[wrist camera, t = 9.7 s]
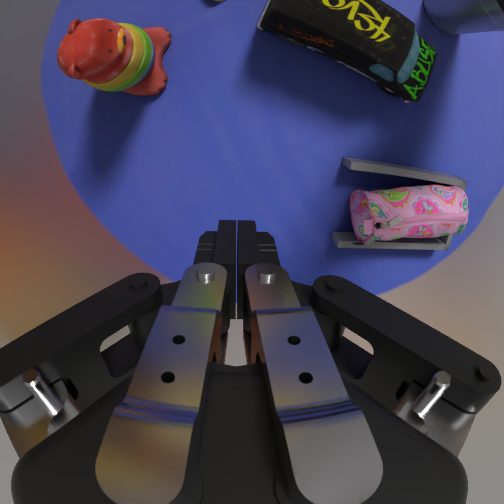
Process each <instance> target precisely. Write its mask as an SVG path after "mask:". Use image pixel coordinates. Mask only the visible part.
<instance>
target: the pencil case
mask: <svg viewBox="0 0 504 504" xmlns="http://www.w3.org/2000/svg"><path fill="white" fill-rule="evenodd" d="M350 211H351V220H352V225H353V229H354V232H355V235H356V238H357V240H358V242H359V243H358V242H353V243H352V244H354V245H357V246H358V245H367V244H370V243H373V242H374V241H375V240H383V241H386V240H395V239H398V238H402V237H407V238H433V237H440V236H444V235H449V234H452V233H453V234H457V235H458V234H461V233H462V232H463V231H464V229H465V226H466V223H467V221H468V212H469V210H468V199H467V196H466V194H465V192H464V191H463V190H462V189H461V188H460V187H458V186H441V185H425V186H413V187H400V188H394V189H388V190H374V191H369V192H368V191H364V190H355V191H353V192H352V194H351V196H350Z"/></svg>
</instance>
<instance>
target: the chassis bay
mask: <svg viewBox="0 0 504 504" xmlns="http://www.w3.org/2000/svg"><path fill="white" fill-rule="evenodd" d="M343 165H344V166H346V167H347V168H349V169H350V170H358V171H367V172H375V173H383V174H390V175H397V176H403V177H410V178H416V179H422V180H428V181H433V182H439V183H444V184H449V185H450V186H458V187H460V188H461V189H462V190H463V191H464V192H465V189H466V185H467V181H465V180H463V179H461V178H459V177H457V176H454V175H450V174H446V173H441V172H436V171H431V170H426V169H421V168H416V167H410V166H405V165H399V164H393V163H386V162H380V161H373V160H365V159H358V158H349V157H343ZM452 237H453V233H452V234H449V235H444V236H440V237H433V238H407V237H402V238H398V239H395V240H386V241H383V240H375V241H374V242H373V243H370V244H367V245H358V246H357V245H354V244H352V243H353V242H358V240H357V238H356V235H355V232H336V231H333V232H332V240H333V241H334V243H335V244H336V246H337V248H375V249H422V250H448V249H449V246H450V243H451V240H452ZM358 243H359V242H358Z"/></svg>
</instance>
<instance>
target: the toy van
mask: <svg viewBox="0 0 504 504" xmlns="http://www.w3.org/2000/svg"><path fill="white" fill-rule="evenodd" d="M260 25H261V27H260ZM258 28H259V29H261V30H263V29H264V30H266V31H269V32H271V33H273V34H277V35H279V36H280V37H281V38H283V39H284V40H286V41H290V42H291V43H292V44H295V45H298V46H304V45H305V46H306V47H307V48H309V49H311V50H313V51H316V52H318V53H320V54H322V55H324V56H326V57H328V58H331V59H333V60H335V61H337V62H339V63H341V64H343V65H345V66H347V67H349V68H351V69H352V70H354V71H356V72H358V73H360V74H362V75H364V76H366V77H368V78H370V79H371V80H373V81H375V82H377V83H378V86H379V87H380V89H382V90H383V91H384V92H385V93H387V94H389V95H393V96H396V97H403V101H404V102H407V103H408V102H410V101H414V102H417V101H418V100H419V99H420V97H421V95H422V93H423V91H424V89H425V87H426V85H427V83H428V80H429V78H430V75H431V72H432V70H433V67H434V63H435V59H436V55H437V54H436V51H435V50H434V48H433V47H432V46H431V45H430V44H429V43H428V42H426V41H425V40H424V39H423V38H422V37H421V36H420V35H418V34H417V30H416V27H415V25H414V23H413V22H412V21H410V20H409V19H408V18H407V17H405V16H404V15H403V14H401V13H400V12H398V11H397V10H395V9H394V8H392V7H391V6H389V5H388V4H386V3H384V2H383V1H381V0H269V1H268V4H267V6H266V8H265V10H264V12H263V14H262V16H261V19H260V21H259V23H258Z"/></svg>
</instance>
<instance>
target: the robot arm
mask: <svg viewBox="0 0 504 504" xmlns="http://www.w3.org/2000/svg"><path fill="white" fill-rule="evenodd" d="M424 7H425V10H426V12H427V15H428V16H429V18H430V20H431V21H432V22H433V24H434V25H435V26H436V27H437V28H438V29H440V30H441V31H443V32H444V33H446V34H449V35H460V34H466V33H476V32H488V31H504V0H424ZM235 308H236V220H219V224H218V231H206V232H205V233H204V234H203V235H201V236H200V239H199V243H198V247H197V251H196V255H195V259H194V263H193V265H192V266H190V267H189V268H187V269H186V270H185V272H184V275H183V277H182V280H180V281H177V282H173V283H168V284H163V285H160V280H159V279H158V277H157V276H155V275H153V274H150V273H136V274H132V275H129V276H127V277H125V278H123V279H121V280H120V281H118V282H116V283H114V284H112V285H111V286H108V287H107V288H105V289H103V290H101V291H99V292H97V293H96V294H94V295H92V296H90V297H89V298H87V299H85V300H83V301H81V302H79V303H78V304H76V305H74V306H72V307H71V308H69V309H67V310H65V311H63V312H62V313H60V314H58V315H56V316H55V317H53V318H51V319H49V320H48V321H46V322H44V323H42V324H41V325H39V326H37V327H36V328H34V329H32V330H30V331H29V332H27V333H26V334H24V335H22V336H20V337H19V338H17V339H15V340H14V341H12V342H11V343H9V344H7V345H5V346H4V347H2V348H0V417H1V420H2V422H3V424H4V427H5V429H6V431H7V434H8V436H9V438H10V440H11V442H12V444H13V446H14V448H15V450H16V452H17V454H18V456H19V458H20V459H19V461H18V463H17V464H16V466H15V468H14V471H13V475H12V480H11V491H12V497H13V501H14V504H466V499H467V492H468V481H467V475H466V472H465V469H464V467H463V465H462V463H461V462H460V461H459V459H458V458H457V457H458V455H459V453H460V451H461V449H462V447H463V444H464V442H465V440H466V438H467V435H468V433H469V431H470V428H471V425H472V423H473V421H474V418H475V415H476V414H477V413H478V412H479V411H480V410H481V409H482V408H483V407H484V406H485V405H486V404H487V403H488V401H489V400H490V399H491V398H492V397H493V396H494V395H495V393H496V392H497V391H498V390H499V389H500V386H501V376H500V373H499V371H498V369H497V368H496V367H495V365H494V364H492V363H491V362H490V361H489V360H487V359H485V358H484V357H482V356H480V355H478V354H477V353H475V352H474V351H472V350H470V349H468V348H467V347H465V346H463V345H462V344H459V343H458V342H456V341H455V340H453V339H451V338H449V337H448V336H446V335H444V334H443V333H441V332H439V331H437V330H436V329H434V328H432V327H430V326H429V325H427V324H425V323H423V322H422V321H420V320H418V319H416V318H415V317H413V316H411V315H409V314H407V313H406V312H404V311H402V310H400V309H399V308H397V307H395V306H393V305H392V304H390V303H388V302H386V301H384V300H382V299H381V298H379V297H377V296H375V295H374V294H372V293H370V292H368V291H366V290H365V289H363V288H361V287H359V286H357V285H355V284H354V283H352V282H350V281H348V280H346V279H344V278H342V277H338V276H333V275H326V276H321V277H319V278H317V279H316V280H315V281H314V282H313V286H309V285H304V284H300V283H296V282H294V281H292V280H290V278H289V275H288V273H287V271H286V270H285V269H283V268H282V267H281V265H280V261H279V257H278V253H277V249H276V245H275V241H274V238H273V237H272V236H271V235H270V234H269V233H268V232H256V224H255V221H249V220H238V233H237V319H243V339H244V347H245V354H246V361H247V365H244V366H230V365H225V356H226V348H227V340H228V329H229V325H230V319H235ZM127 325H128V326H129V329H130V334H128V335H127V336H125V337H124V338H122V339H121V340H119V341H118V342H116V343H115V344H113V345H111V346H110V347H108V348H107V349H105V350H104V351H102V352H101V353H100V346H101V344H102V342H103V341H104V340H105V339H106V338H108V337H109V336H111V335H112V334H114V333H115V332H117V331H118V330H120V329H122V328H123V327H125V326H127ZM345 327H346V328H348V329H349V330H351V331H353V332H354V333H356V334H357V335H359V336H361V337H362V338H364V339H365V340H367V341H368V342H369V343H370V344H371V345H372V347H373V350H374V354H373V355H372V354H370V353H369V352H367V351H365V350H364V349H362V348H361V347H359V346H358V345H356V344H355V343H353V342H351V341H350V340H348V339H347V338H345V337H344V336H342V335H343V332H344V329H345Z"/></svg>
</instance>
